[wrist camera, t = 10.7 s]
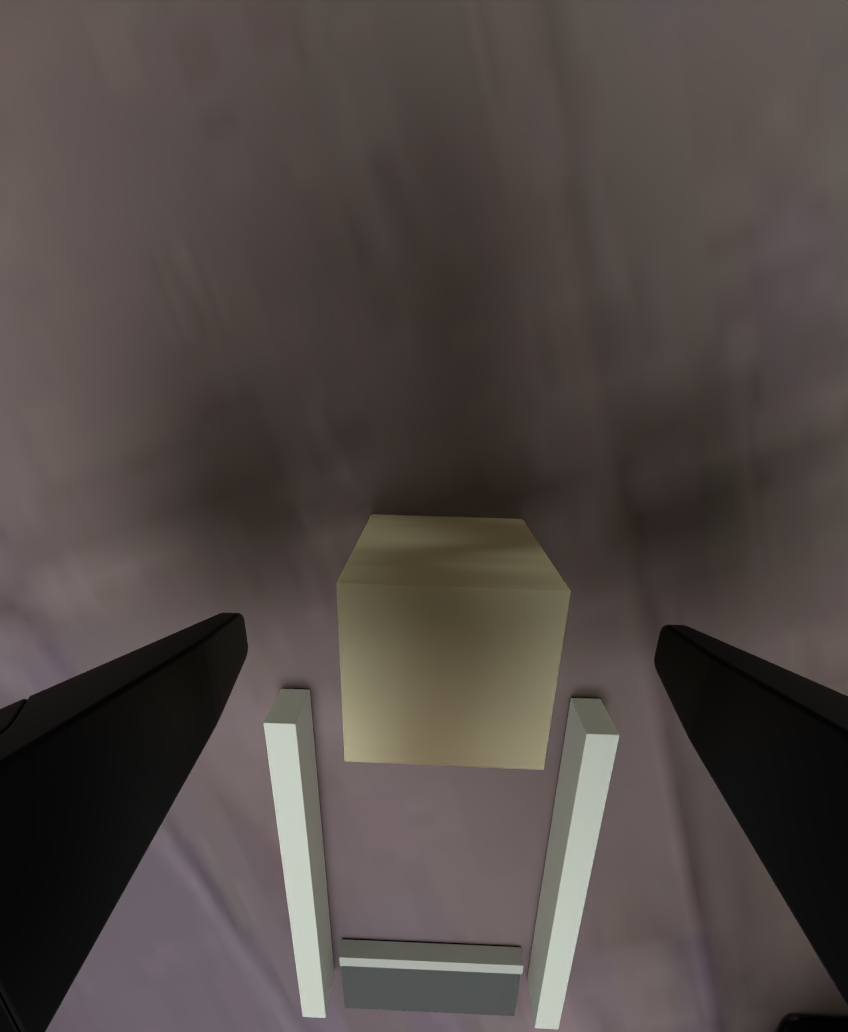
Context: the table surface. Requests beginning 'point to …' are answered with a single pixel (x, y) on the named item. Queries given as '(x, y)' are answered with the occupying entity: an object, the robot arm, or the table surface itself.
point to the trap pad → (430, 977)
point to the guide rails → (565, 860)
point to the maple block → (449, 642)
